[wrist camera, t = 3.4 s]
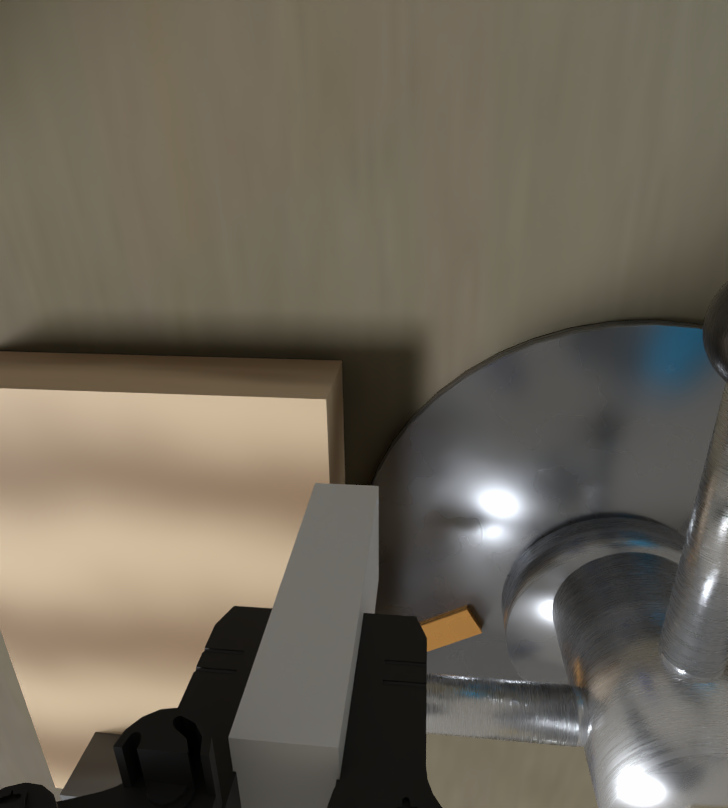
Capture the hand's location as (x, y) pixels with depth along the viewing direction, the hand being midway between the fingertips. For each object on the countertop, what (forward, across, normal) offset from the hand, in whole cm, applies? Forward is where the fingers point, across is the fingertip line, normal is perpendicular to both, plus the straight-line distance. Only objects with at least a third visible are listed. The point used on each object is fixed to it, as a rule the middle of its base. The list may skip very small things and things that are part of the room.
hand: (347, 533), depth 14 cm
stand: (+6, -7, -7) cm, 11 cm away
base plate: (+6, +8, -5) cm, 11 cm away
